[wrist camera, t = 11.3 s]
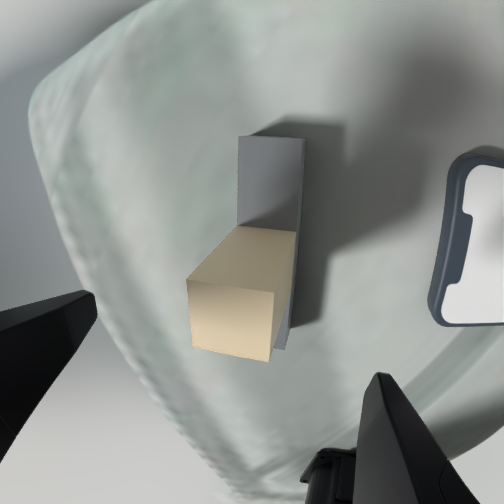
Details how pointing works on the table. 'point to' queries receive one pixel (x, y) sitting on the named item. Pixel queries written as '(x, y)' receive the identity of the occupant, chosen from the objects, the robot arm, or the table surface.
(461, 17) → the table surface
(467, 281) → the smartphone
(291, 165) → the scraper
